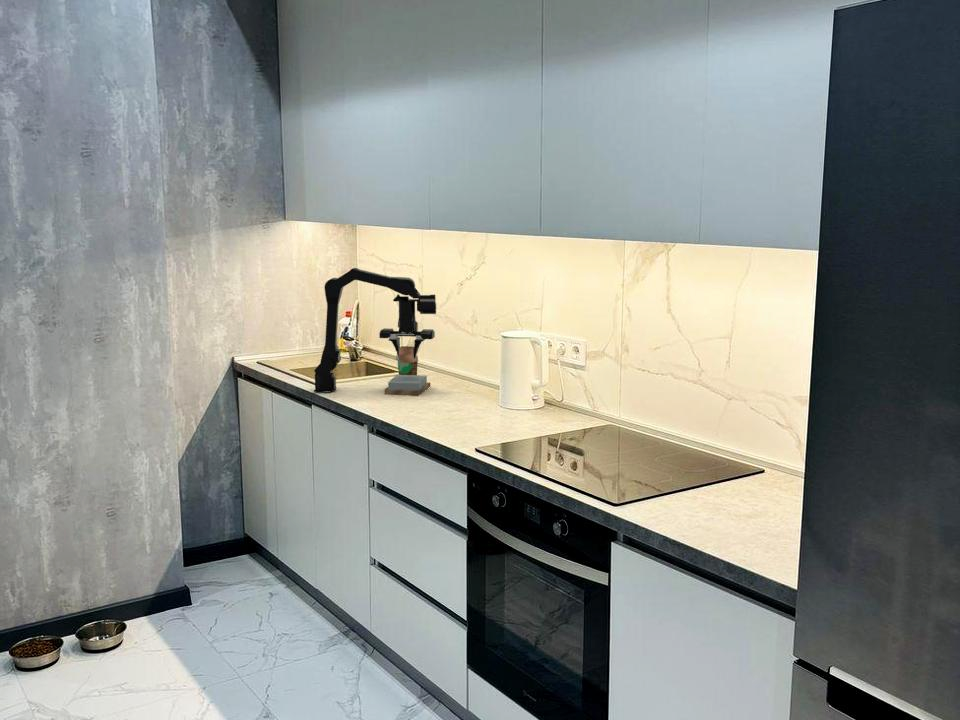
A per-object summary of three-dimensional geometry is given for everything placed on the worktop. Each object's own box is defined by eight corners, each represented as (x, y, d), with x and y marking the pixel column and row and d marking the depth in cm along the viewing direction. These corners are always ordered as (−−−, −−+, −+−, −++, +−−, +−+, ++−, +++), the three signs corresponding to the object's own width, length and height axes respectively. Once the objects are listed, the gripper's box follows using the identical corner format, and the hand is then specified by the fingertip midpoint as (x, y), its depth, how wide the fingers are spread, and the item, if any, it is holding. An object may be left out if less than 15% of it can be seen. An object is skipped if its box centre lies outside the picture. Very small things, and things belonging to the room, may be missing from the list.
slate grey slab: (388, 389, 340) (388, 382, 339) (396, 381, 354) (396, 374, 354) (419, 390, 339) (419, 383, 338) (426, 382, 353) (426, 375, 353)
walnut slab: (384, 396, 341) (384, 389, 340) (398, 387, 356) (398, 381, 356) (417, 398, 338) (417, 391, 337) (430, 389, 353) (430, 382, 353)
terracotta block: (398, 362, 343) (398, 348, 342) (401, 360, 348) (401, 346, 347) (413, 362, 342) (412, 348, 342) (415, 360, 347) (415, 346, 346)
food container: (391, 378, 370) (390, 352, 369) (406, 377, 373) (406, 351, 371) (402, 384, 359) (402, 357, 358) (418, 382, 362) (418, 355, 360)
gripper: (437, 311, 349) (437, 355, 352) (385, 310, 351) (386, 353, 354) (431, 315, 338) (432, 360, 341) (378, 314, 340) (379, 358, 343)
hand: (407, 358), depth 345 cm, fingers closed on terracotta block, 5 cm apart
